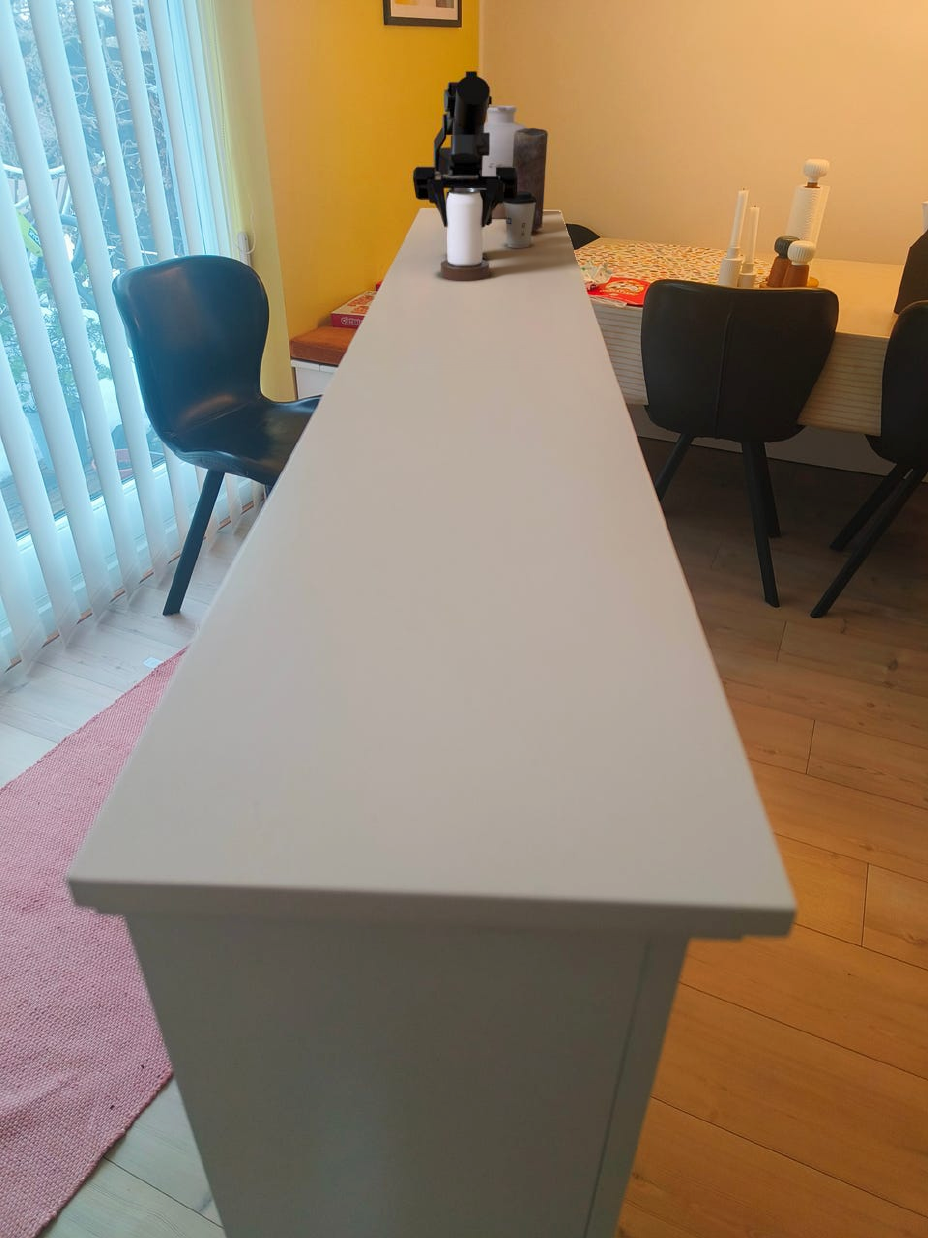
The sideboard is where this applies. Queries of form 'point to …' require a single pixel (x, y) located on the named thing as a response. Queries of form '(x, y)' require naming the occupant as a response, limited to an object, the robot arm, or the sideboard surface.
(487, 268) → the coaster
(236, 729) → the sideboard surface
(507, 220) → the coffee cup
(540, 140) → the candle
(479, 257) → the can
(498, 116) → the vase
